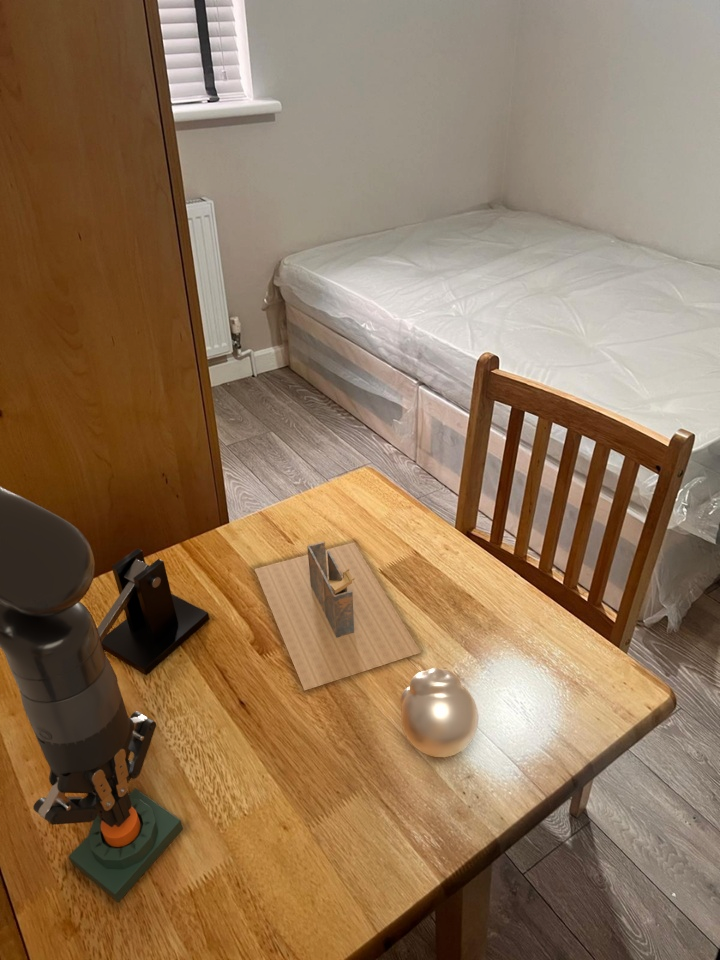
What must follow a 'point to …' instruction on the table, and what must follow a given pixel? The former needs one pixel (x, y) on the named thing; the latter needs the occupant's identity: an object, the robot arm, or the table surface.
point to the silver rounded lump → (438, 713)
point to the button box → (126, 848)
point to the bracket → (150, 617)
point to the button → (122, 830)
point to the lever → (121, 599)
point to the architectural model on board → (333, 614)
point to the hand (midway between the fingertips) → (117, 817)
